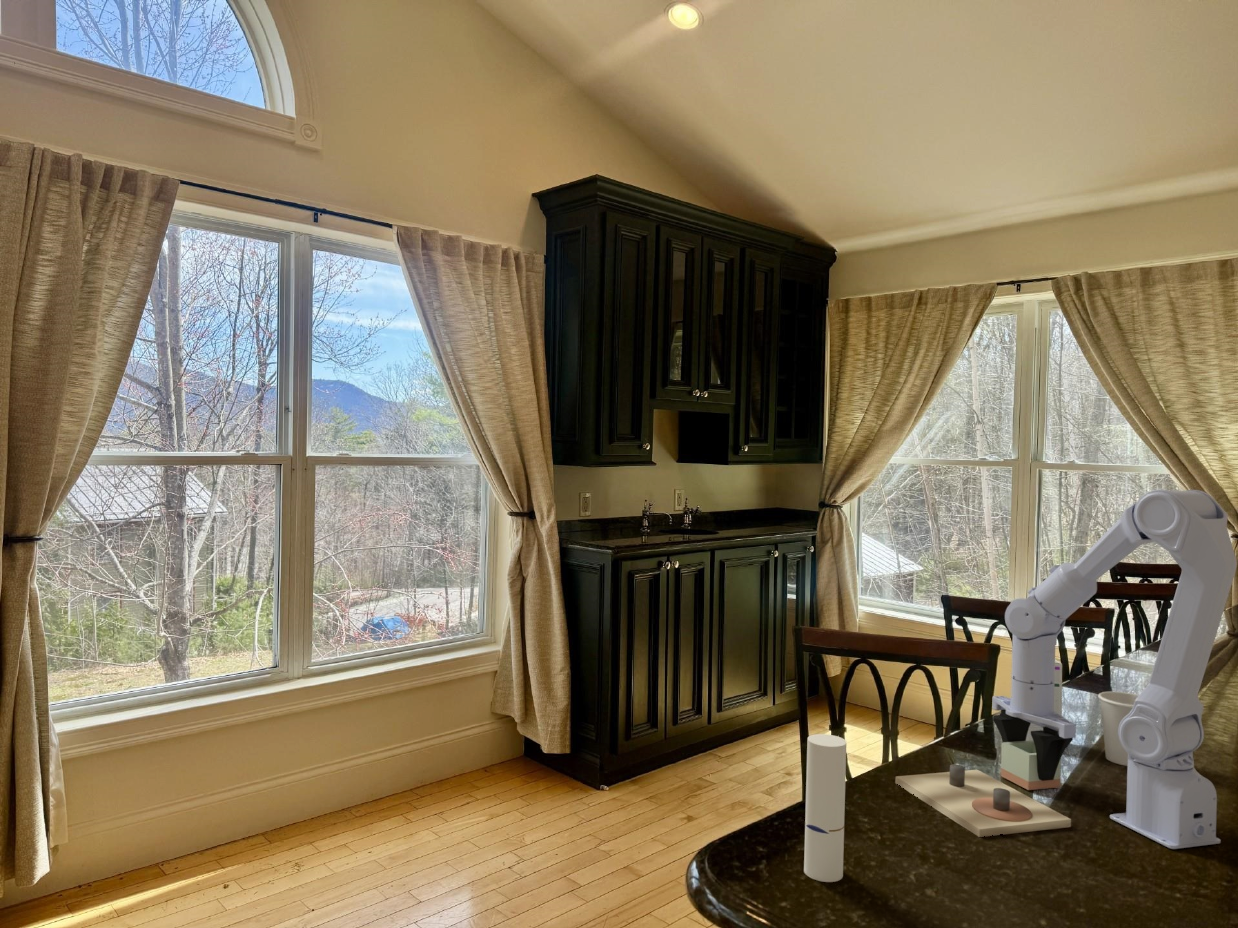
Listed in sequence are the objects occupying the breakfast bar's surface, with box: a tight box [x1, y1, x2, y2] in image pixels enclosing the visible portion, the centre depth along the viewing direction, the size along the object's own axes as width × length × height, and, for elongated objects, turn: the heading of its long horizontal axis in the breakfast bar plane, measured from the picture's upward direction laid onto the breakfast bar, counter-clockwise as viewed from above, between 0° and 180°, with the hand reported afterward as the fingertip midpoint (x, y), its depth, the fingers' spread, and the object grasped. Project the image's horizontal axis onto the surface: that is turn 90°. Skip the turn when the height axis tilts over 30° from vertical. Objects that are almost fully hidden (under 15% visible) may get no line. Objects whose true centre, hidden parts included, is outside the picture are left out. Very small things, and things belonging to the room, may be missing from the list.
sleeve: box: [1000, 740, 1062, 791], centre depth 125 cm, size 6×6×5 cm
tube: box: [803, 733, 847, 883], centre depth 96 cm, size 4×4×15 cm
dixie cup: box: [1097, 691, 1140, 767], centre depth 136 cm, size 8×8×10 cm
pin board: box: [894, 763, 1072, 838], centre depth 117 cm, size 18×14×4 cm
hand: (1030, 771), depth 125 cm, fingers closed on sleeve, 6 cm apart
